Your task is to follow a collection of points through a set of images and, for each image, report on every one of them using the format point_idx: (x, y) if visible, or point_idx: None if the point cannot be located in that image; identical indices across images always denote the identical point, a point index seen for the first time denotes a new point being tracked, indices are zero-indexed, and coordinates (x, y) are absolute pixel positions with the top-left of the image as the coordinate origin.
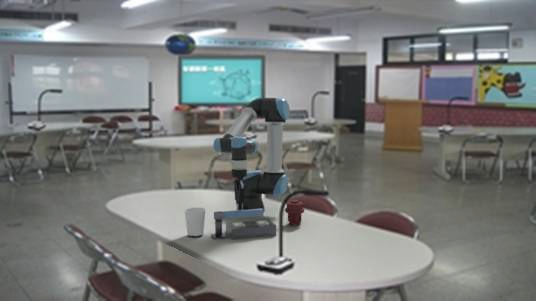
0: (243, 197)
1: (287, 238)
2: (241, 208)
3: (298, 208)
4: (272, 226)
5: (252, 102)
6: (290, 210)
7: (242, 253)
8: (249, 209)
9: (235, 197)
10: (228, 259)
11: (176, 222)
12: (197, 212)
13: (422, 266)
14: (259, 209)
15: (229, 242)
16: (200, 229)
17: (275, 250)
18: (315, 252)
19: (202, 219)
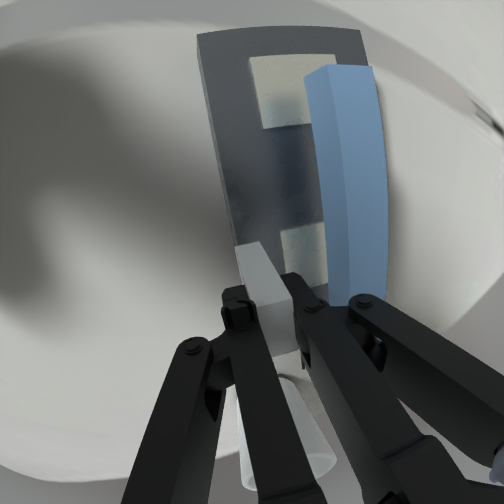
0: (423, 331)
1: (380, 25)
2: (303, 280)
3: None
4: (362, 53)
5: None
6: None
7: (477, 234)
8: (347, 201)
9: (219, 408)
10: (488, 270)
11: (96, 432)
12: (335, 458)
13: None
14: (363, 99)
15: (387, 274)
16: (300, 397)
17: (480, 130)
18: (488, 39)
19: (311, 424)
